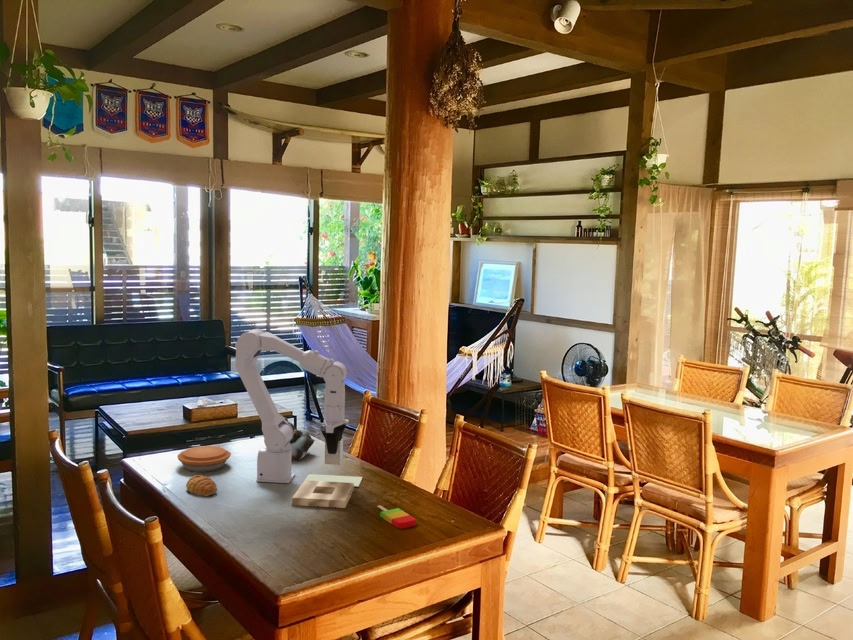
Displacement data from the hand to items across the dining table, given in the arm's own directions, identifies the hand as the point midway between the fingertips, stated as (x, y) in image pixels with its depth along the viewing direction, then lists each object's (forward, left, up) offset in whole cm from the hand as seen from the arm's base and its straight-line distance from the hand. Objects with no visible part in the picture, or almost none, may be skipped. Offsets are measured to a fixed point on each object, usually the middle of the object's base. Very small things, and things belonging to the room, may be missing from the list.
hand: (333, 451), depth 205 cm
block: (0, 0, -3) cm, 3 cm away
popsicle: (+20, -24, -10) cm, 33 cm away
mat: (0, 0, -9) cm, 9 cm away
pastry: (-34, -13, -10) cm, 37 cm away
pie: (-41, +8, -9) cm, 43 cm away
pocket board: (0, -13, -9) cm, 16 cm away
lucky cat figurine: (-19, +22, -9) cm, 30 cm away
